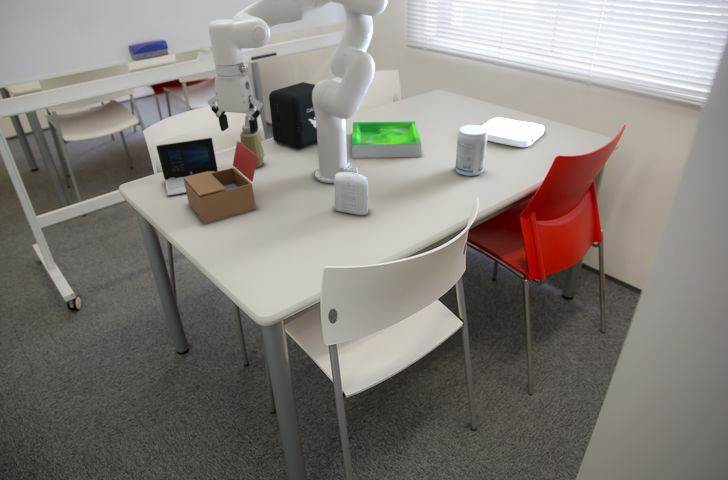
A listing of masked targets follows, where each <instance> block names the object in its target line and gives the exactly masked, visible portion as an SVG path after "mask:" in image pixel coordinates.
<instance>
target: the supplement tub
mask: <svg viewBox="0 0 728 480" xmlns="http://www.w3.org/2000/svg"><path fill="white" fill-rule="evenodd" d="M487 132H488V130H487V129H486V128H485V127H482V125H478V124H477V125H476V124H468V125H467V124H466V125H462V126H460V127H459V128H458V133H457V143H456V154H455V157H456V158H455V168H454V169H455V171H456V173H458V174H460V175H463V176H468V177H473V176H478V175H481V174H482V173H483V172H484V170H485V161H486V152H487V143H488V141H487V135H488V134H487Z"/></svg>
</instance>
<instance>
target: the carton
mask: <svg viewBox="0 0 728 480" xmlns="http://www.w3.org/2000/svg"><path fill="white" fill-rule="evenodd" d="M212 172H213V171H212ZM182 178H184V184H185V188H186V193H185V194H186V196H187V201H188V205H189V206H190V207H191V209H192V210H193V211H194V213H195V214H196V215H197V216H198V218H200V220H201V221H202V222H203V224H204V225H207V224H210V223H214V222H217V221H221V220H223V219H227V218H231V217H235V216H238V215H241V214H245V213H248V212H252V211H255V210H257V209H256V201H255V195H254V193H255V192H254V187H253V183H252V182H251V181H250V180H249V179H248V178H247V177H246V176H244V175H243V174H242V173H241V172H240V171H239V170H238V169H236V168H235V167H234V166H233V167H229V168H225V169H221V170H218V171H217V172H213V173H210V172H209V171H207V172H203V173H198V174H194V175H190V176H186V177H182ZM230 184H235V185H236V186H237V187H236V188H232V189H228V190H225V189H226V188H225V187H224V186H226V185H230ZM222 190H225V191H222ZM220 191H221V192H220Z"/></svg>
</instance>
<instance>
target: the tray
mask: <svg viewBox="0 0 728 480" xmlns="http://www.w3.org/2000/svg"><path fill="white" fill-rule="evenodd" d="M351 133H352V135H351V158H352V159H366V158H367V159H368V158H371V159H372V158H421V151H422V142H421V138H420V134H419V131H418V127H417V122H416V121H415V120H414V121H413V120H411V121H410V120H407V121H353V122H352V132H351Z"/></svg>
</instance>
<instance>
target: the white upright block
mask: <svg viewBox="0 0 728 480" xmlns="http://www.w3.org/2000/svg"><path fill="white" fill-rule="evenodd" d="M333 184H334V186H333V188H334V209H335V211H337V212H341V213H346V214H350V215H351V214H352V215H357V216H366V215H368V213H369V179H368V177H367V176H365V175H363V174H361V173H359V172H358V173H353V172H339V173H337V174H336V175H335V179H334V183H333Z"/></svg>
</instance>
